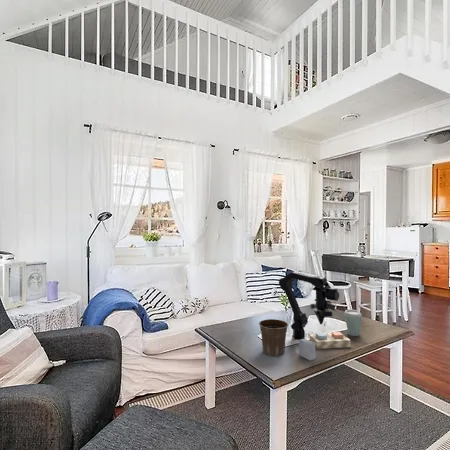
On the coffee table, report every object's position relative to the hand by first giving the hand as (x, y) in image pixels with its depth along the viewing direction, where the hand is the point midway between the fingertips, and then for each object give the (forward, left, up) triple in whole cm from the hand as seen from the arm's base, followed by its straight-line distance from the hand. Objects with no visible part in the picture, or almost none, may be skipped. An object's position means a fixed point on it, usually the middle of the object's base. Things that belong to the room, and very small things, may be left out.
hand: (321, 324), depth 183 cm
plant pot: (-31, -7, -12) cm, 34 cm away
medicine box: (-15, -16, -12) cm, 25 cm away
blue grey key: (0, 0, -9) cm, 9 cm away
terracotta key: (+10, 0, -9) cm, 14 cm away
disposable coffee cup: (+27, +13, -12) cm, 32 cm away
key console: (+5, 0, -12) cm, 13 cm away
